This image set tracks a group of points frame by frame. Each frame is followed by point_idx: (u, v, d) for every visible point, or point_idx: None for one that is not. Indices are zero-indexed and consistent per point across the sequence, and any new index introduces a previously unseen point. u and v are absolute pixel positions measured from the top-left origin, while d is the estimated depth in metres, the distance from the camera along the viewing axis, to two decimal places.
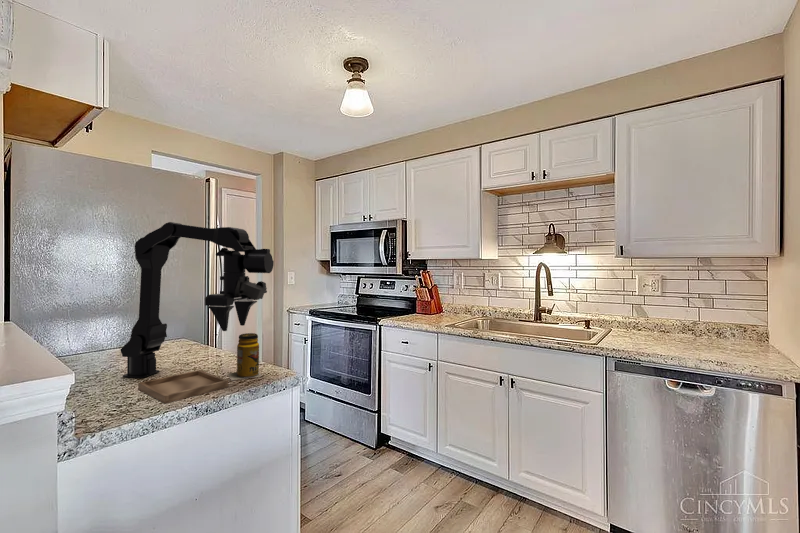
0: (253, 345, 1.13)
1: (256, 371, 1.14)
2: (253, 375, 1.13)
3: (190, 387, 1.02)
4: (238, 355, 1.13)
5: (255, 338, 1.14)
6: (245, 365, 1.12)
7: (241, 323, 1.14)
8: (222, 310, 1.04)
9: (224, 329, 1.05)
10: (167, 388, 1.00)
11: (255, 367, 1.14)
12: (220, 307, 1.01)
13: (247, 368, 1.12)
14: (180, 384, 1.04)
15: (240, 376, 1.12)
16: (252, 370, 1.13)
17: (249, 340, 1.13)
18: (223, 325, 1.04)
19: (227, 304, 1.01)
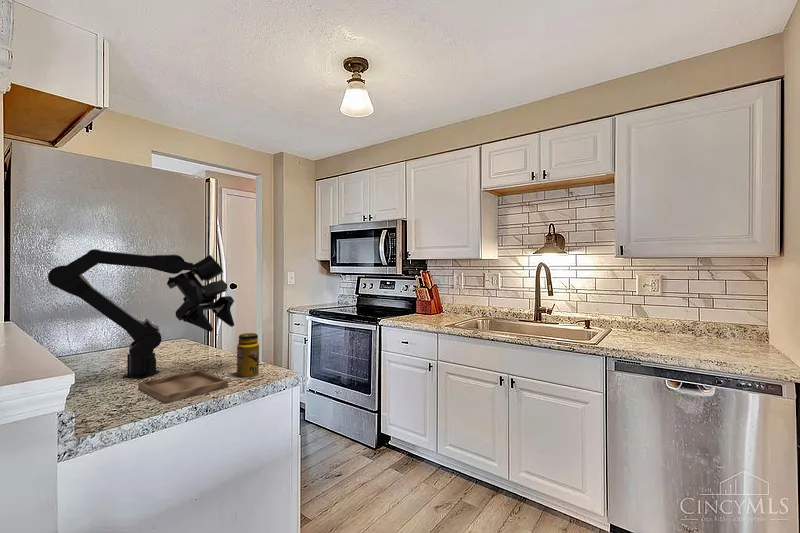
0: (253, 345, 1.13)
1: (256, 371, 1.14)
2: (253, 375, 1.13)
3: (190, 387, 1.02)
4: (238, 355, 1.13)
5: (255, 338, 1.14)
6: (245, 365, 1.12)
7: (230, 325, 1.21)
8: (197, 316, 1.11)
9: (210, 329, 1.11)
10: (167, 388, 1.00)
11: (255, 367, 1.14)
12: (190, 312, 1.09)
13: (247, 368, 1.12)
14: (180, 384, 1.04)
15: (240, 376, 1.12)
16: (252, 370, 1.13)
17: (249, 340, 1.13)
18: (207, 327, 1.11)
19: (192, 305, 1.09)
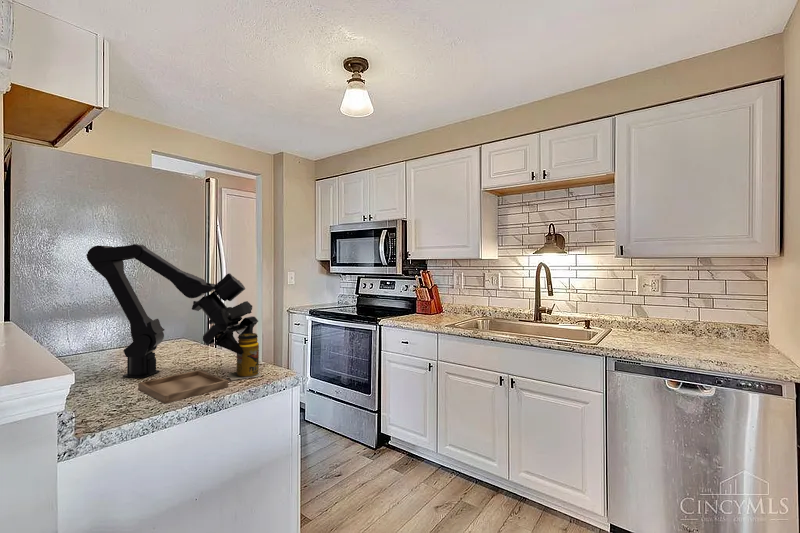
0: (252, 345, 1.13)
1: (256, 371, 1.14)
2: (253, 375, 1.13)
3: (190, 387, 1.02)
4: (238, 355, 1.13)
5: (255, 338, 1.14)
6: (244, 365, 1.12)
7: None
8: (227, 339, 1.11)
9: (240, 352, 1.11)
10: (167, 388, 1.00)
11: (255, 367, 1.14)
12: (221, 336, 1.09)
13: (246, 368, 1.12)
14: (180, 384, 1.04)
15: (240, 376, 1.12)
16: (252, 370, 1.13)
17: (248, 339, 1.12)
18: (237, 350, 1.11)
19: (220, 329, 1.07)
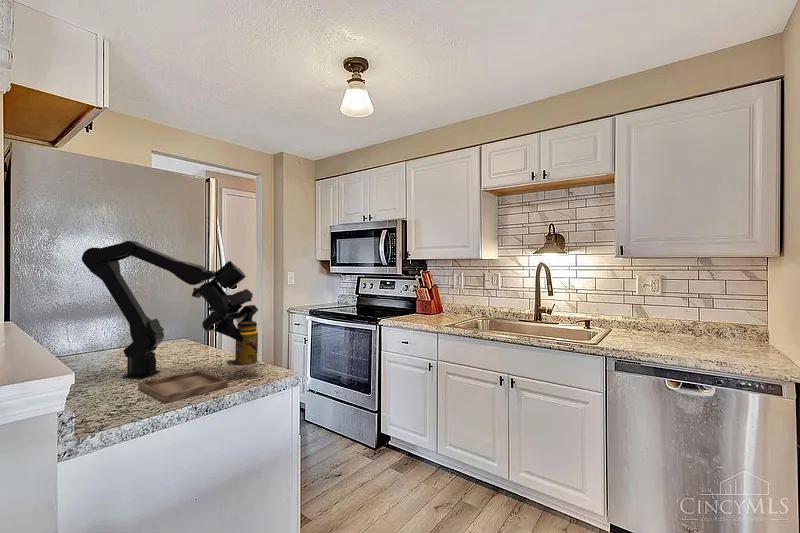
0: (251, 333, 1.12)
1: (255, 359, 1.14)
2: (251, 363, 1.13)
3: (190, 387, 1.02)
4: (237, 342, 1.12)
5: (254, 326, 1.13)
6: (243, 353, 1.11)
7: None
8: (227, 326, 1.11)
9: (240, 339, 1.11)
10: (167, 388, 1.00)
11: (254, 355, 1.13)
12: (221, 322, 1.09)
13: (245, 355, 1.12)
14: (180, 384, 1.04)
15: (238, 363, 1.12)
16: (250, 358, 1.12)
17: (247, 327, 1.12)
18: (237, 336, 1.11)
19: (220, 315, 1.07)
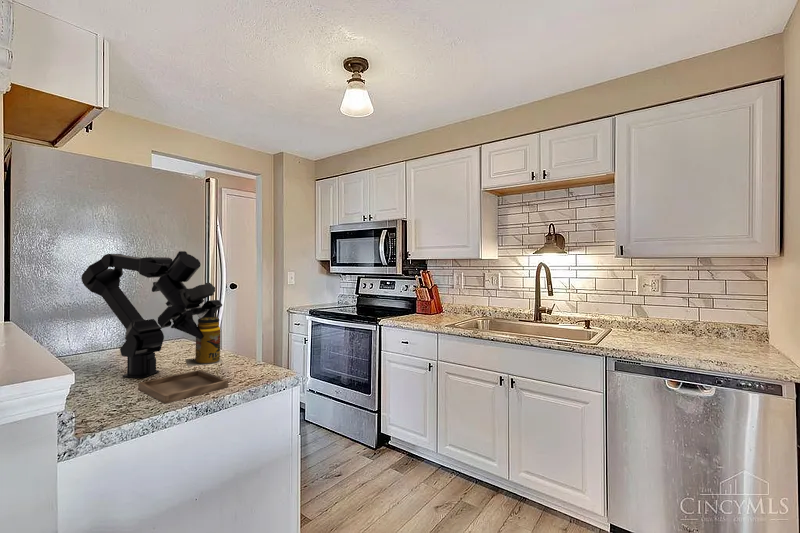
0: (213, 330, 1.05)
1: (216, 357, 1.06)
2: (213, 362, 1.05)
3: (190, 387, 1.02)
4: (197, 340, 1.04)
5: (216, 322, 1.06)
6: (203, 351, 1.04)
7: None
8: (186, 322, 1.03)
9: (200, 336, 1.03)
10: (167, 388, 1.00)
11: (215, 353, 1.05)
12: (179, 318, 1.01)
13: (206, 354, 1.04)
14: (180, 384, 1.04)
15: (198, 362, 1.04)
16: (212, 356, 1.05)
17: (208, 323, 1.04)
18: (196, 333, 1.03)
19: (176, 311, 0.98)
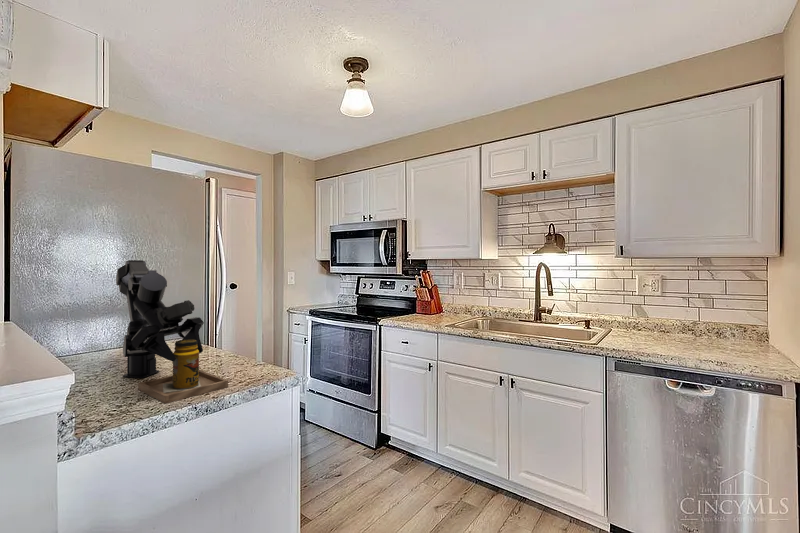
0: (190, 353, 1.00)
1: (194, 382, 1.02)
2: (190, 387, 1.01)
3: None
4: (173, 364, 1.00)
5: (193, 345, 1.01)
6: (180, 376, 0.99)
7: (199, 351, 1.07)
8: (157, 344, 0.97)
9: (172, 358, 0.97)
10: None
11: (193, 377, 1.01)
12: (149, 340, 0.95)
13: (183, 379, 0.99)
14: None
15: (175, 388, 1.00)
16: (189, 381, 1.00)
17: (185, 347, 1.00)
18: (168, 356, 0.97)
19: (150, 332, 0.94)
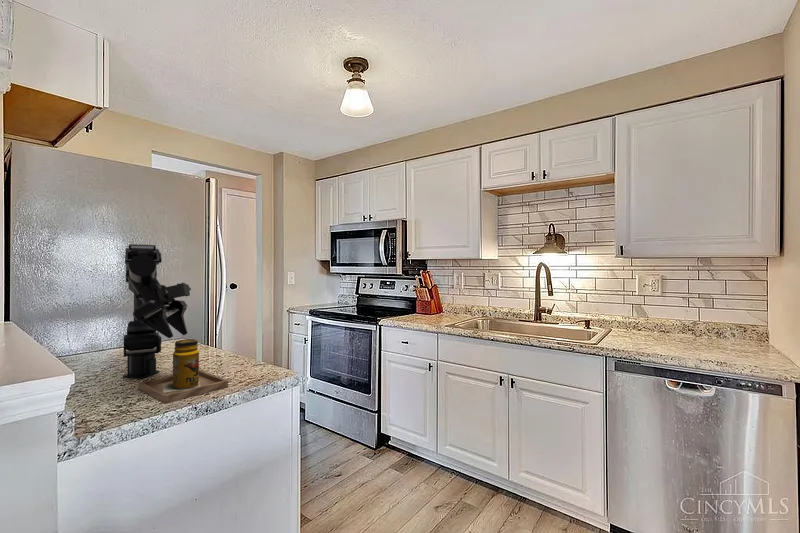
0: (190, 353, 1.00)
1: (194, 382, 1.02)
2: (190, 387, 1.01)
3: None
4: (173, 364, 1.00)
5: (193, 345, 1.01)
6: (180, 376, 0.99)
7: (183, 333, 1.10)
8: (157, 318, 1.00)
9: (170, 335, 1.01)
10: None
11: (193, 377, 1.01)
12: (153, 314, 0.98)
13: (183, 379, 0.99)
14: None
15: (175, 388, 1.00)
16: (189, 381, 1.00)
17: (185, 347, 1.00)
18: (166, 332, 1.01)
19: (159, 306, 0.98)
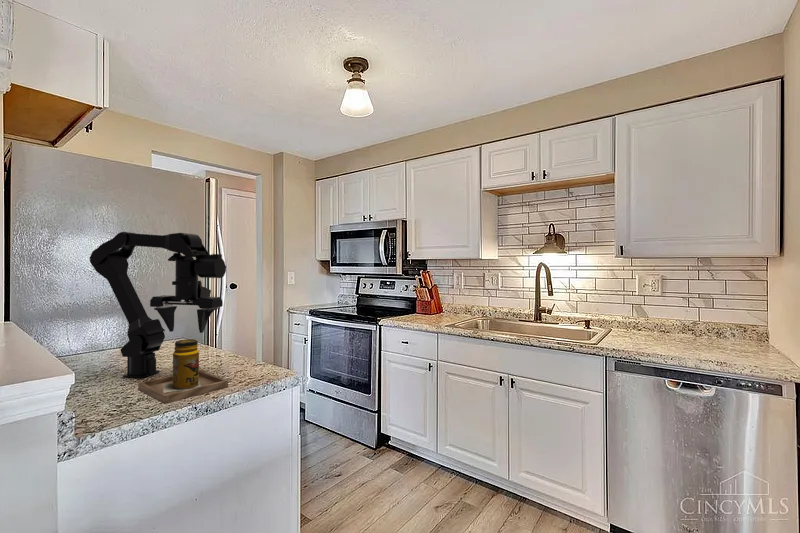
0: (190, 353, 1.00)
1: (194, 382, 1.02)
2: (190, 387, 1.01)
3: None
4: (173, 364, 1.00)
5: (193, 345, 1.01)
6: (180, 376, 0.99)
7: (170, 329, 1.11)
8: (205, 312, 1.11)
9: (202, 330, 1.11)
10: None
11: (193, 377, 1.01)
12: (214, 308, 1.11)
13: (183, 379, 0.99)
14: None
15: (175, 388, 1.00)
16: (189, 381, 1.00)
17: (185, 347, 1.00)
18: (203, 327, 1.11)
19: None
